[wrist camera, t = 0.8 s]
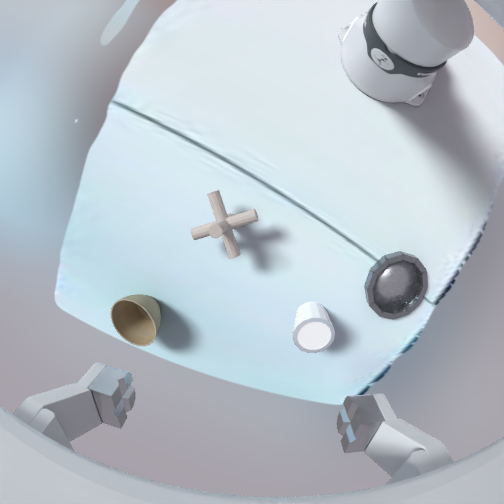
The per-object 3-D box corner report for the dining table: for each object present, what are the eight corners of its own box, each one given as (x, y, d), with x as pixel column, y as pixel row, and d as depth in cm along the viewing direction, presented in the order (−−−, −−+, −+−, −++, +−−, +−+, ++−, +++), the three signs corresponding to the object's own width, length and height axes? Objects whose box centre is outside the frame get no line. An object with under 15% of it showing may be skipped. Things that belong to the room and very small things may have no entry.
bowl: (400, 238, 42) (404, 240, 40) (433, 282, 43) (437, 285, 41) (352, 285, 45) (354, 290, 43) (388, 324, 46) (391, 329, 45)
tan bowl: (130, 277, 50) (110, 291, 44) (174, 294, 50) (158, 311, 43) (127, 317, 53) (110, 333, 47) (167, 334, 53) (153, 354, 46)
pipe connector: (268, 239, 45) (263, 257, 35) (213, 255, 47) (194, 275, 37) (250, 180, 42) (239, 182, 33) (193, 199, 44) (169, 207, 35)
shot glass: (285, 310, 48) (284, 330, 41) (318, 291, 46) (323, 310, 40) (304, 336, 49) (305, 359, 42) (336, 320, 47) (342, 341, 41)
